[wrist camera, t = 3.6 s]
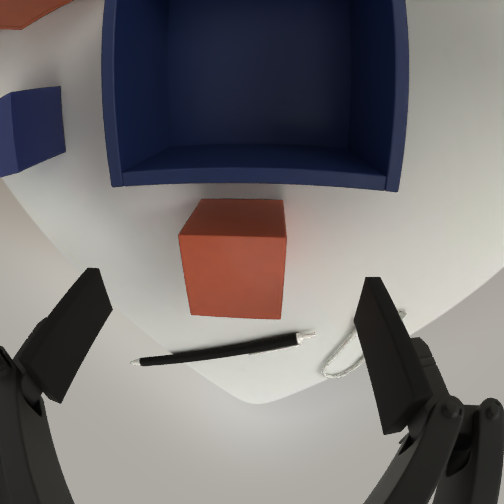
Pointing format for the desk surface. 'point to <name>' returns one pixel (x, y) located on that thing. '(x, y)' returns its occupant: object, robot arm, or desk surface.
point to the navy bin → (255, 92)
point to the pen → (228, 350)
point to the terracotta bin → (25, 11)
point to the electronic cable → (343, 348)
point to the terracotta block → (235, 258)
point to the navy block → (30, 128)
